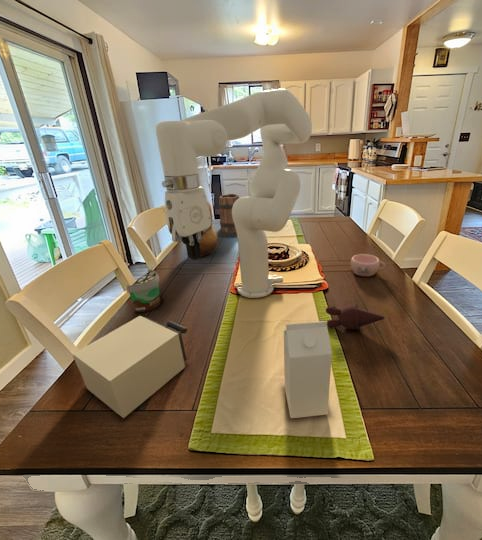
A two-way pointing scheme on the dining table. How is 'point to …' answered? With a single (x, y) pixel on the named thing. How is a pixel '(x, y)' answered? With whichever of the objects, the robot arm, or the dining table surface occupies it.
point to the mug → (365, 264)
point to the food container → (145, 292)
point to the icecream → (351, 317)
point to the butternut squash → (208, 238)
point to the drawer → (178, 328)
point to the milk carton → (307, 368)
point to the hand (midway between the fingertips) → (194, 258)
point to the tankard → (227, 215)
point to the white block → (130, 363)
